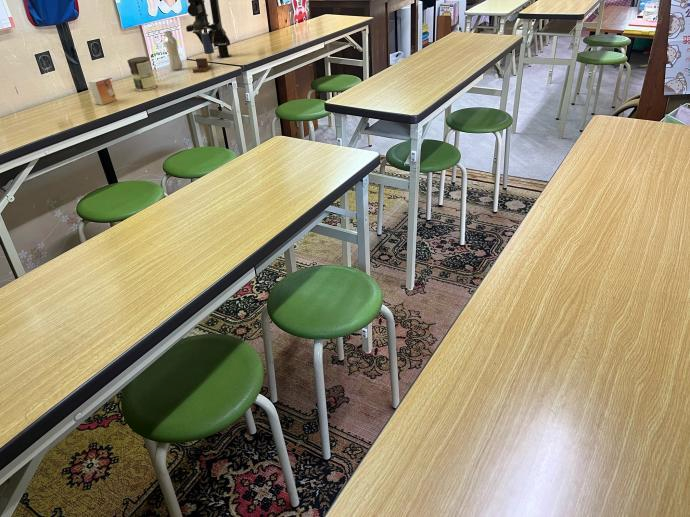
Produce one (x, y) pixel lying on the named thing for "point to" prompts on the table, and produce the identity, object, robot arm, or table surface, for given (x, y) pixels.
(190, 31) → the robot arm
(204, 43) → the blue box
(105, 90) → the small box
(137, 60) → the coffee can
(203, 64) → the stand
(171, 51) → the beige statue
